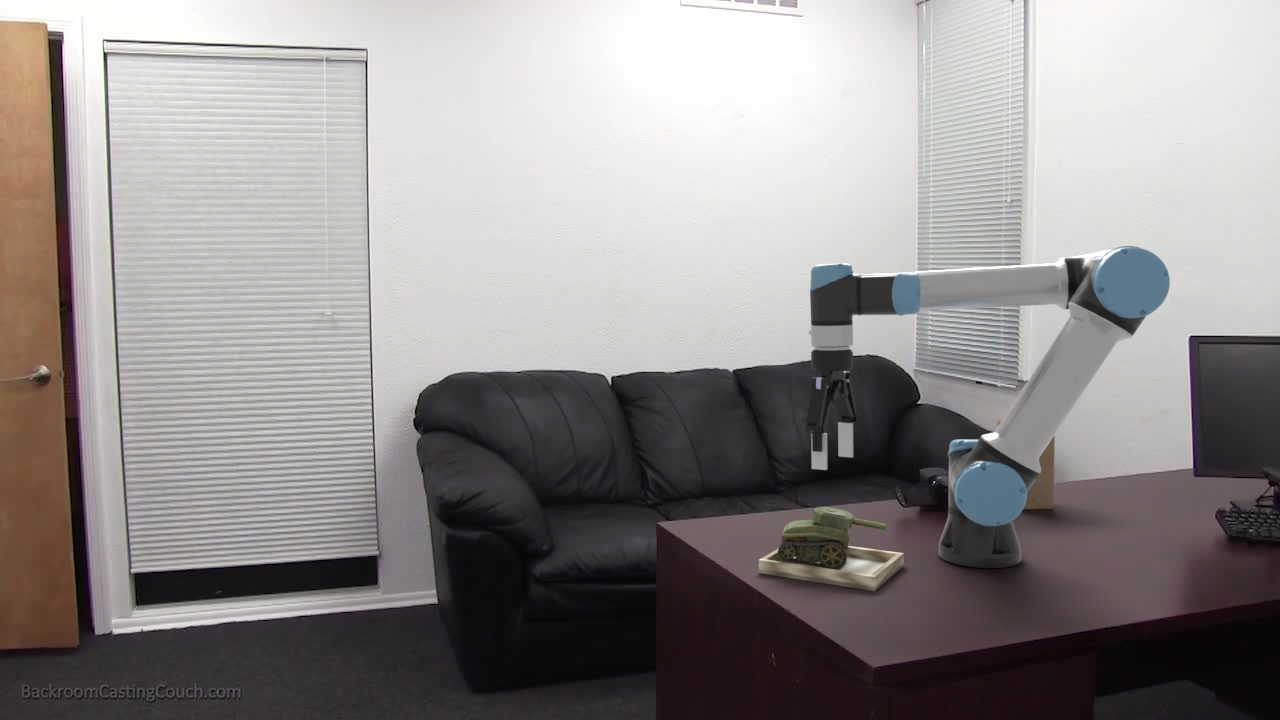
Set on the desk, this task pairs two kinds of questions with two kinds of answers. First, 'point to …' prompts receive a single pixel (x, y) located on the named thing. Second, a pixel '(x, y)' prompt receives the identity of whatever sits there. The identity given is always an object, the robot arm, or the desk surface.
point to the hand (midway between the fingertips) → (833, 462)
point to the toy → (821, 538)
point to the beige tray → (858, 571)
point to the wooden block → (1042, 481)
